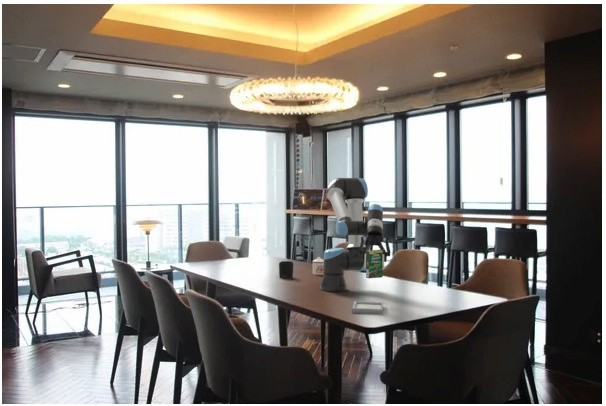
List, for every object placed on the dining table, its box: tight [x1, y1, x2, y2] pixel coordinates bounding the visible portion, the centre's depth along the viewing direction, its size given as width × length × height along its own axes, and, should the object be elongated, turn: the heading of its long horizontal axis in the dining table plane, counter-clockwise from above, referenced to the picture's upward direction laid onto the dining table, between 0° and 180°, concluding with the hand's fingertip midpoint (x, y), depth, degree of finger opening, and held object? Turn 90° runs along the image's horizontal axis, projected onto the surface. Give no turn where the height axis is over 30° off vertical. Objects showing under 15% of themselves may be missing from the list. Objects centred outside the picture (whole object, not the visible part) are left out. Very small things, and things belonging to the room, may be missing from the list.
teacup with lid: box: [312, 256, 324, 276], centre depth 352 cm, size 12×9×12 cm
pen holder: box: [278, 260, 294, 279], centre depth 336 cm, size 9×9×10 cm
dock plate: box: [351, 300, 384, 315], centre depth 243 cm, size 14×16×2 cm
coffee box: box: [365, 249, 384, 279], centre depth 245 cm, size 8×3×13 cm, turn 116°
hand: (374, 266), depth 243 cm, fingers closed on coffee box, 8 cm apart
